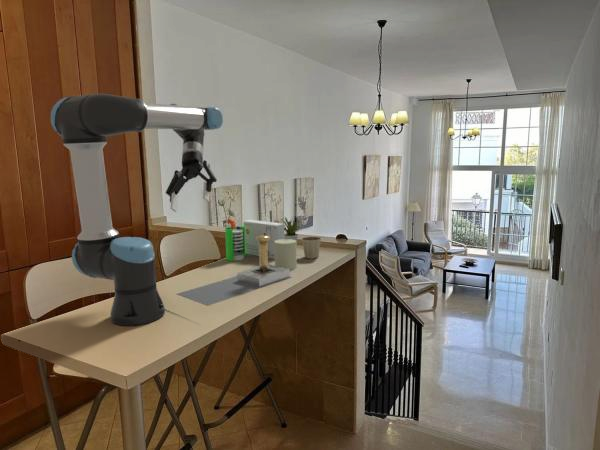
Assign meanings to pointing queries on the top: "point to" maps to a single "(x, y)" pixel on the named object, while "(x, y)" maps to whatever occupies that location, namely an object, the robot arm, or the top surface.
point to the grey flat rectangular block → (263, 275)
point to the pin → (263, 252)
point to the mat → (220, 291)
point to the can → (285, 253)
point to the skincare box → (262, 228)
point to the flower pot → (311, 246)
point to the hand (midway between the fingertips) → (189, 205)
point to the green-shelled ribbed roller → (235, 241)
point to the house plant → (291, 229)
